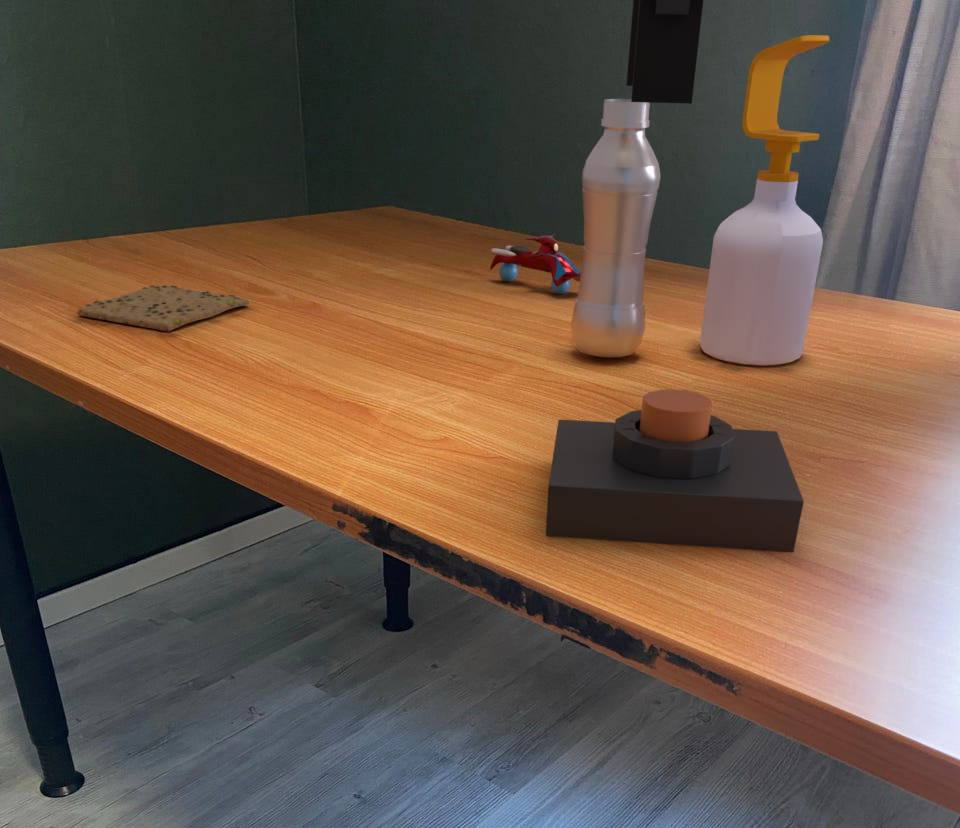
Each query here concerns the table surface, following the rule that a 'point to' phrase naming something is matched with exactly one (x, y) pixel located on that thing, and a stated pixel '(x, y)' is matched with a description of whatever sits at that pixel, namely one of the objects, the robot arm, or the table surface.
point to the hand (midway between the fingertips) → (654, 94)
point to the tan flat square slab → (161, 307)
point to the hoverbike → (537, 262)
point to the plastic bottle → (616, 233)
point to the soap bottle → (765, 239)
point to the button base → (672, 487)
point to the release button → (675, 415)
